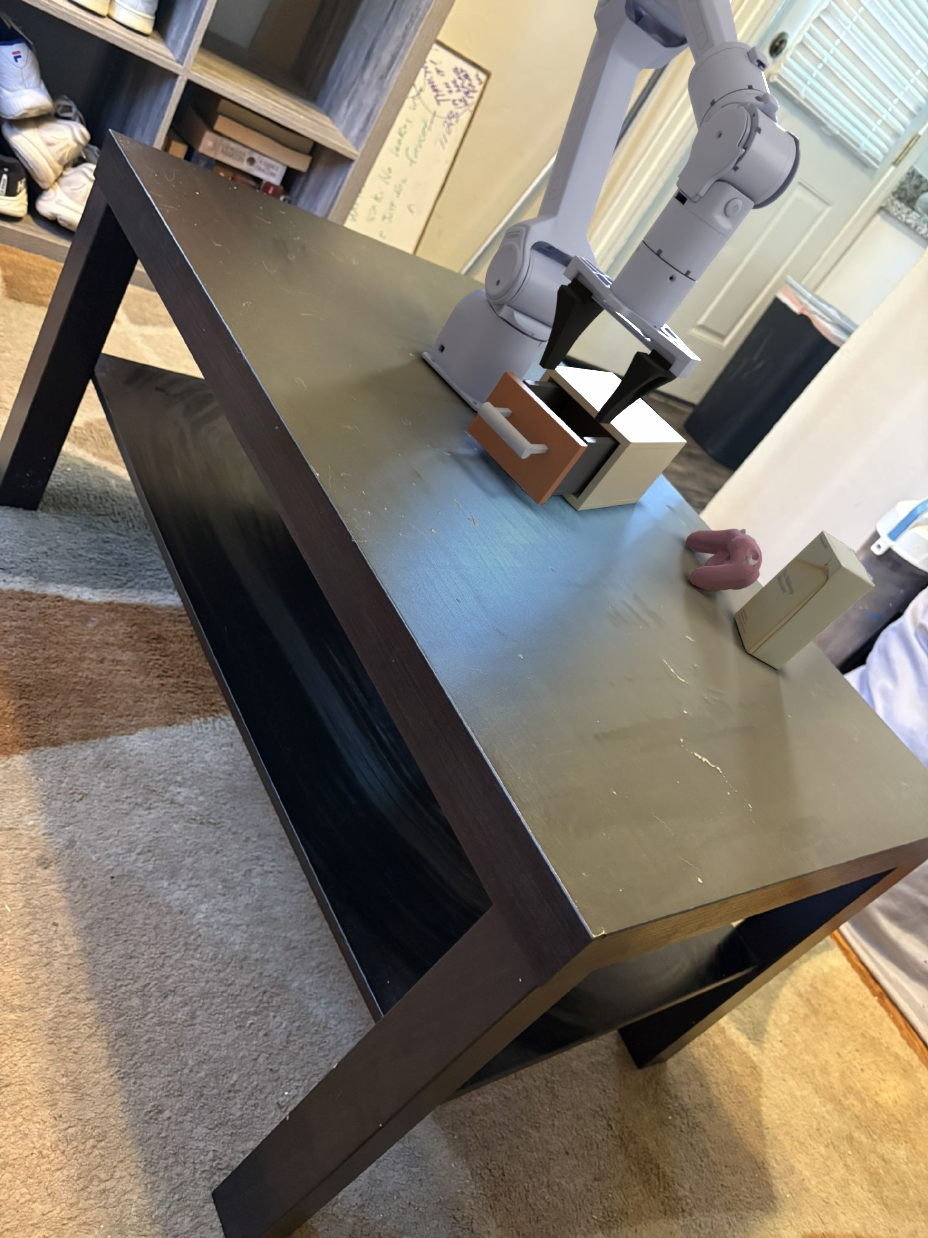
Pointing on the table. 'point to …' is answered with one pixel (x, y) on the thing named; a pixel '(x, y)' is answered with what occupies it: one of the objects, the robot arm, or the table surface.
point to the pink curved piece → (725, 559)
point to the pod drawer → (541, 437)
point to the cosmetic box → (802, 600)
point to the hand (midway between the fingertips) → (573, 393)
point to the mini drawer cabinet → (635, 428)
